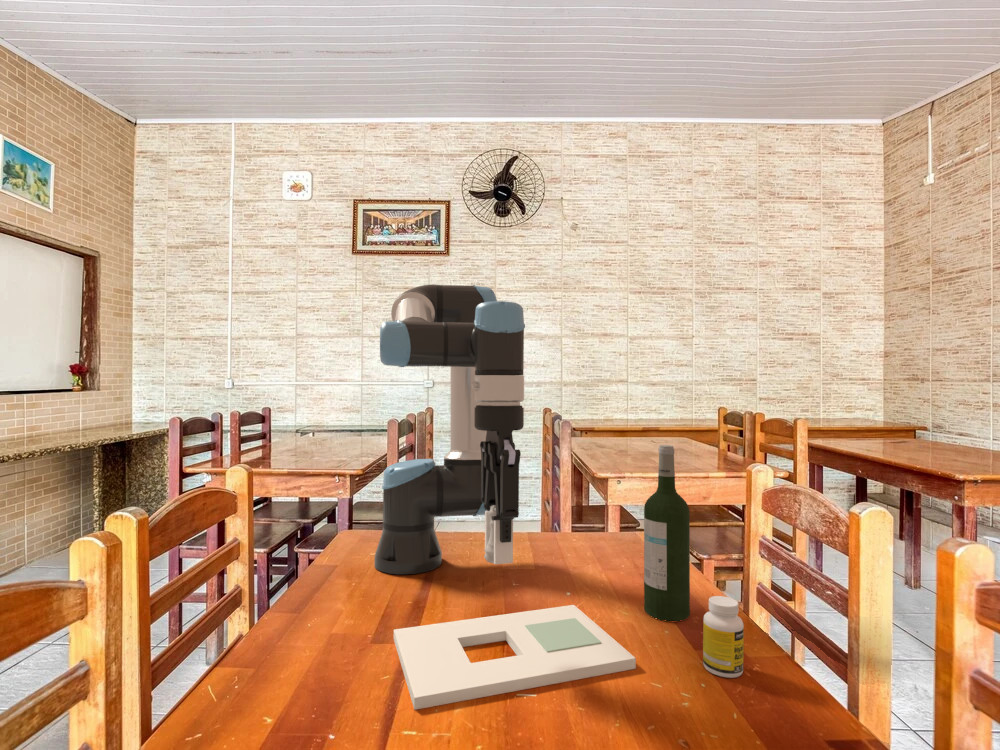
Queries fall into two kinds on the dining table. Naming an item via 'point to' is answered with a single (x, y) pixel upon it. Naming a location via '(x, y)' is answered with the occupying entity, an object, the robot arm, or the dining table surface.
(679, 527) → the wine bottle
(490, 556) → the rook chess piece
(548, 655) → the hole board
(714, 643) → the supplement bottle
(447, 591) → the dining table surface
